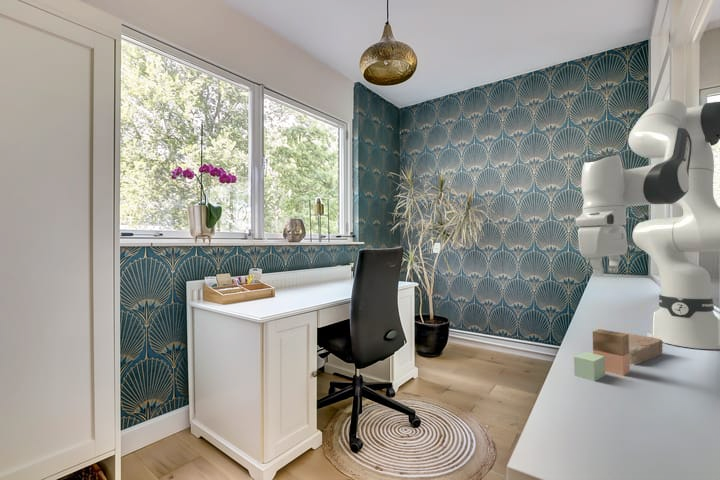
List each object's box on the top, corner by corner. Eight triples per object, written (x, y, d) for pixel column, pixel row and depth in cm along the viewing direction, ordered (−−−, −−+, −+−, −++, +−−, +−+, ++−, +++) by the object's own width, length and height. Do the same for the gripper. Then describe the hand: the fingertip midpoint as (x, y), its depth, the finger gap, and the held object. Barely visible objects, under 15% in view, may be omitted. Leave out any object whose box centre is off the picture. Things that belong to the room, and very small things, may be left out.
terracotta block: (593, 368, 81) (593, 349, 81) (600, 364, 83) (599, 347, 84) (623, 375, 76) (622, 356, 76) (629, 372, 78) (629, 353, 79)
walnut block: (593, 349, 81) (592, 331, 81) (599, 346, 84) (599, 329, 84) (622, 356, 76) (622, 336, 77) (629, 353, 79) (628, 334, 79)
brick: (636, 366, 83) (636, 348, 83) (598, 357, 90) (598, 339, 90) (664, 356, 91) (663, 339, 91) (627, 348, 98) (627, 332, 98)
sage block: (585, 370, 80) (585, 351, 80) (605, 375, 77) (604, 356, 77) (574, 376, 77) (574, 356, 77) (594, 381, 73) (593, 361, 73)
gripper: (605, 220, 92) (607, 270, 92) (572, 219, 80) (574, 276, 80) (633, 219, 87) (635, 271, 87) (602, 217, 75) (605, 278, 75)
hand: (606, 274), depth 83 cm, fingers open, 8 cm apart
